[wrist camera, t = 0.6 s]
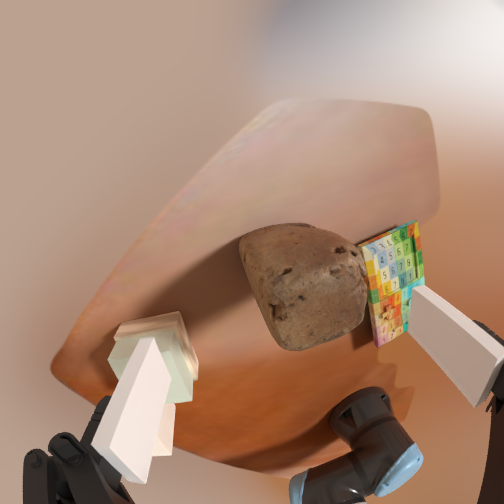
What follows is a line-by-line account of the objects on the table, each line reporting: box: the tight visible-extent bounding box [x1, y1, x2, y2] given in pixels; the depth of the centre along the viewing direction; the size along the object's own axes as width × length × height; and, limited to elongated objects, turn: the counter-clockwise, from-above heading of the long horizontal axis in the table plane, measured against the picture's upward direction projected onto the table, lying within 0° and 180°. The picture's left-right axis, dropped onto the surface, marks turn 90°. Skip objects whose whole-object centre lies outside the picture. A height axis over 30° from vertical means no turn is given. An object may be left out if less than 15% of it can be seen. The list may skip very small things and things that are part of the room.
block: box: [239, 223, 367, 351], centre depth 30 cm, size 11×8×20 cm
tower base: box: [113, 311, 198, 381], centre depth 38 cm, size 10×10×5 cm
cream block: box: [152, 403, 176, 456], centre depth 37 cm, size 6×6×12 cm
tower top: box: [108, 330, 193, 404], centre depth 34 cm, size 9×9×5 cm
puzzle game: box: [358, 220, 425, 348], centre depth 42 cm, size 12×5×20 cm
